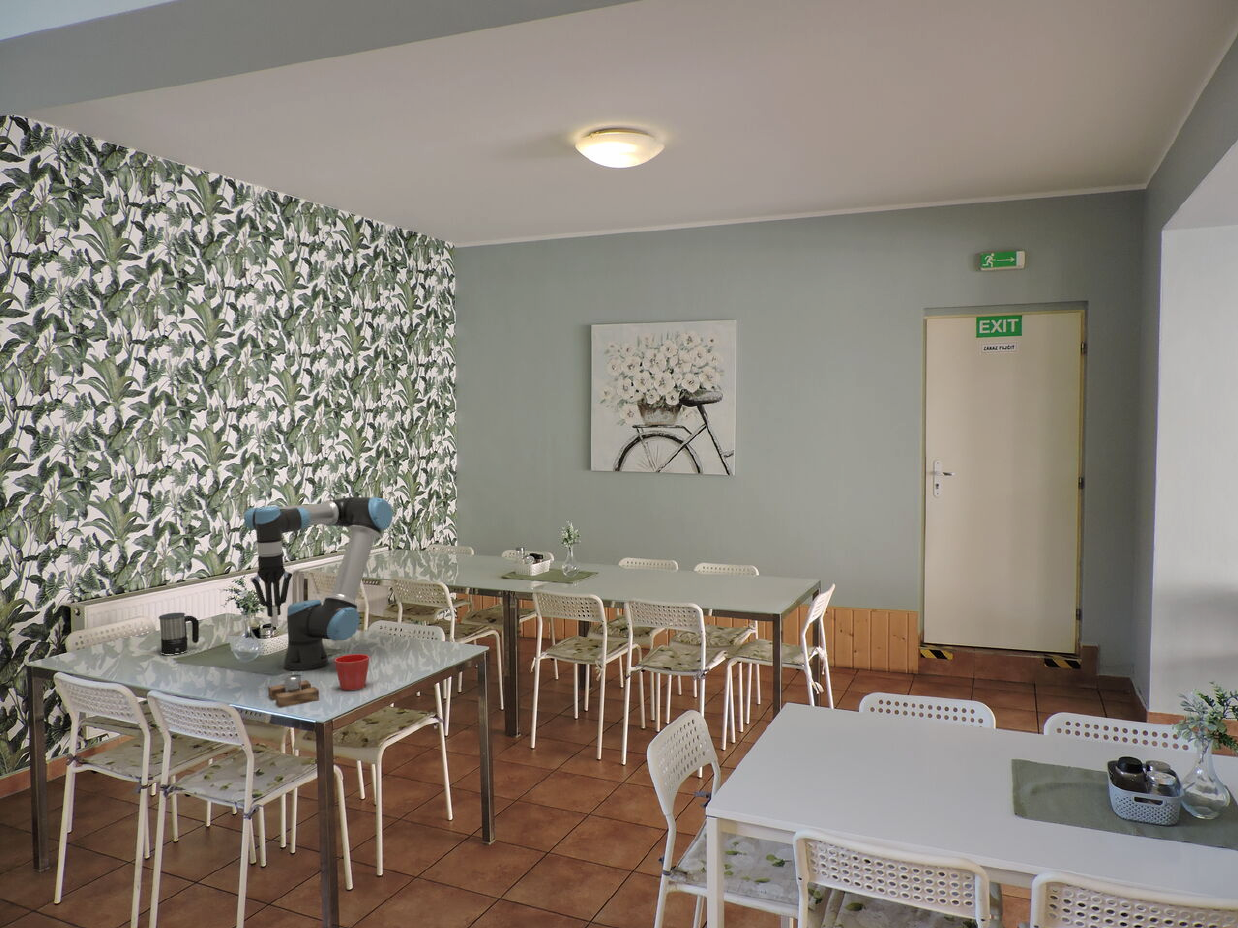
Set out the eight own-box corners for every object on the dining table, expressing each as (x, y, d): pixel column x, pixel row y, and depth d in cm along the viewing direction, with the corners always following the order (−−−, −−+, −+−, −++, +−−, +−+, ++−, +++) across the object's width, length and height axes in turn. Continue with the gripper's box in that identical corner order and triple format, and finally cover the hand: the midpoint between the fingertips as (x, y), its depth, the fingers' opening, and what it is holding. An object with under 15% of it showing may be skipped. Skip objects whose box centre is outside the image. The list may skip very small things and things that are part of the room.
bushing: (299, 694, 285) (298, 673, 285) (303, 698, 281) (302, 677, 281) (283, 697, 282) (282, 676, 282) (287, 701, 278) (286, 679, 278)
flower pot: (339, 682, 297) (338, 654, 297) (372, 681, 298) (372, 653, 298) (332, 692, 287) (331, 662, 286) (366, 691, 288) (365, 661, 287)
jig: (306, 689, 291) (306, 680, 291) (319, 699, 280) (318, 690, 279) (268, 696, 284) (268, 686, 284) (279, 707, 273) (279, 697, 273)
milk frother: (169, 657, 335) (167, 618, 334) (145, 652, 343) (143, 614, 342) (204, 648, 347) (202, 611, 346) (180, 643, 355) (178, 607, 354)
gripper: (286, 550, 294) (291, 619, 296) (245, 555, 286) (250, 627, 288) (294, 552, 288) (298, 624, 290) (252, 558, 280) (257, 631, 282)
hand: (274, 625), depth 289 cm, fingers closed
